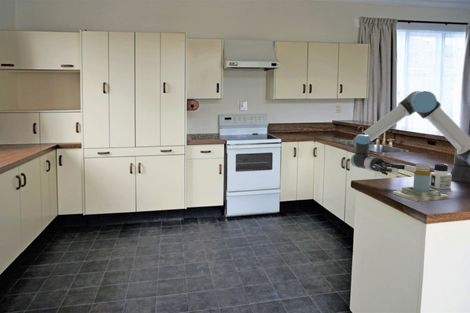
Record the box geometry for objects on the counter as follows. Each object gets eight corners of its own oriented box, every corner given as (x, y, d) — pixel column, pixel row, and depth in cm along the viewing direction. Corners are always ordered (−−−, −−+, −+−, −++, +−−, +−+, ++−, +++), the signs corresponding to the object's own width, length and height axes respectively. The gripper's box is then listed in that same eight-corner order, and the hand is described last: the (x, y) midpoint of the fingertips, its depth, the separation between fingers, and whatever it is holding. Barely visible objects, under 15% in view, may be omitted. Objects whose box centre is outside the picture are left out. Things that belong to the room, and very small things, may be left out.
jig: (424, 190, 198) (424, 184, 198) (449, 198, 183) (450, 192, 182) (392, 193, 192) (393, 187, 192) (416, 201, 177) (416, 195, 177)
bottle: (423, 191, 191) (426, 162, 189) (431, 195, 184) (433, 165, 182) (410, 191, 191) (412, 162, 188) (417, 195, 184) (419, 165, 181)
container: (439, 189, 201) (441, 165, 199) (428, 186, 209) (430, 163, 206) (450, 188, 203) (453, 164, 201) (439, 185, 211) (441, 162, 209)
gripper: (389, 168, 219) (422, 175, 200) (357, 172, 207) (389, 180, 189) (390, 156, 217) (423, 161, 199) (358, 159, 206) (390, 165, 187)
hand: (406, 170), depth 194 cm, fingers open, 13 cm apart
